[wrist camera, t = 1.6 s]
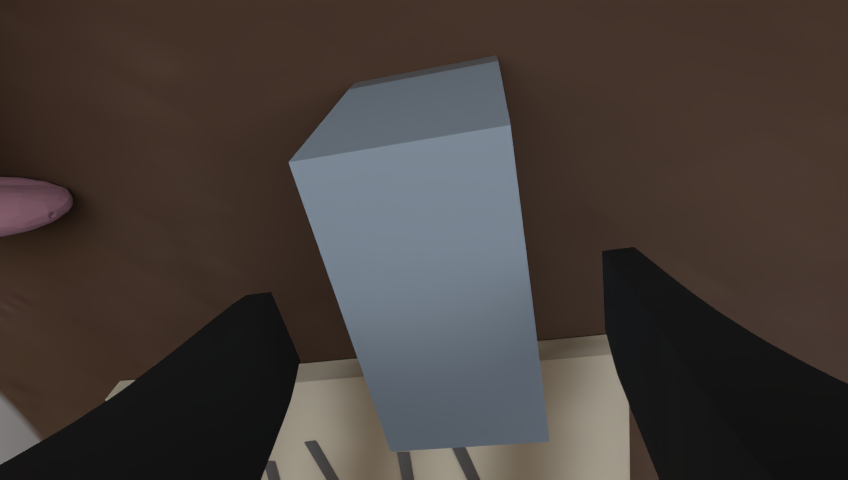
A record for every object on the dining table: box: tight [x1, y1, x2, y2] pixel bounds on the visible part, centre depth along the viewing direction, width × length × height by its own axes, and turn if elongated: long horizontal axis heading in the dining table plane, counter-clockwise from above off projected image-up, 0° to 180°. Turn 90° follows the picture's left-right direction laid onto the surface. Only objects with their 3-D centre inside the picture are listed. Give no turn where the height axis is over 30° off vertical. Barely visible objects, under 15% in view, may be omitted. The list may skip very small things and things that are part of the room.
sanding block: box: [289, 56, 550, 452], centre depth 13 cm, size 4×8×6 cm, turn 12°
